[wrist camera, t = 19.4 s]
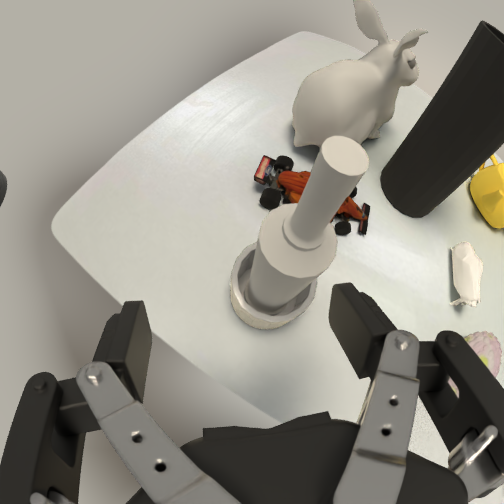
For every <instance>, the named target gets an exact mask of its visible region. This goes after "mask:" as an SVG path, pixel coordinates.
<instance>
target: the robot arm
mask: <svg viewBox="0 0 504 504" xmlns="http://www.w3.org/2000/svg"><path fill="white" fill-rule="evenodd" d="M329 323H330V326H331V328H332V330H333V332H334V334H335V336H336V337H337V339H338V341H339V343H340V345H341V346H342V348H343V350H344V352H345V354H346V356H347V357H348V359H349V361H350V363H351V365H352V367H353V368H354V370H355V372H356V374H357V376H358V378H359V379H362V378H366V377H370V379H371V382H370V385H369V388H368V391H367V394H366V397H365V400H364V403H363V406H362V409H361V412H360V414H359V417H358V420H357V422H356V423H353V422H350V421H345V420H338V419H331V418H330V415H329V413H328V411H326V412H322V413H317V414H312V415H307V416H302V417H298V418H295V419H293V420H290V421H288V422H286V423H283V424H280V425H278V426H275V427H273V428H269V429H260V428H249V427H238V426H230V427H217V428H203V437H201V438H198V439H195V440H193V441H190V442H188V443H186V444H184V445H183V446H181V447H180V448H179V447H178V446H177V445H176V444H175V443H174V442H173V441H172V440H171V439H170V437H169V436H168V435H167V434H166V433H165V432H164V431H163V430H162V428H161V427H160V426H159V425H158V424H157V423H156V421H155V420H154V419H153V418H152V417H151V415H150V414H149V413H148V412H147V411H146V410H145V408H144V407H143V406H142V404H141V403H143V397H144V389H145V382H146V376H147V369H148V363H149V357H150V351H151V346H152V334H151V328H150V325H149V321H148V317H147V313H146V309H145V305H144V302H143V301H126V302H125V303H124V305H123V308H122V311H121V313H120V314H114V315H113V316H112V317H111V318H110V319H109V320H108V321H107V323H106V325H105V328H104V332H103V333H102V336H101V339H100V341H99V344H98V347H97V349H96V352H95V355H94V358H93V361H92V362H91V363H88V364H86V365H84V366H83V367H82V368H81V369H80V370H79V371H78V373H77V376H76V377H75V378H72V379H67V380H62V381H57V380H56V378H55V377H54V375H52V374H51V373H48V372H41V373H38V374H36V375H34V376H32V377H31V378H30V379H29V380H28V382H27V384H26V386H25V388H24V391H23V394H22V396H21V399H20V402H19V405H18V407H17V410H16V413H15V416H14V419H13V422H12V425H11V428H10V431H9V435H8V438H7V442H6V445H5V449H4V453H3V456H2V460H1V464H0V504H78V496H79V484H80V473H81V465H82V455H83V449H84V442H85V435H86V432H91V431H96V430H101V429H102V430H103V432H104V434H105V435H106V437H107V439H108V440H109V442H110V443H111V445H112V446H113V448H114V449H115V451H116V452H117V454H118V455H119V456H120V458H121V460H122V461H123V462H124V464H125V465H126V467H127V468H128V469H129V471H130V472H131V474H132V475H133V476H134V477H135V479H136V480H137V481H138V483H139V484H140V485H141V488H140V489H139V490H138V491H137V493H136V494H135V495H134V496H133V497H132V498H131V499H130V500H129V501H128V502H127V503H126V504H468V502H470V501H471V500H473V499H475V498H482V497H485V496H486V495H488V494H489V493H491V492H492V491H493V490H495V489H496V488H498V487H499V486H500V485H502V484H503V483H504V389H503V387H502V386H501V385H500V383H499V382H498V381H497V379H496V378H495V377H494V376H493V374H492V373H491V372H490V370H489V369H488V368H487V366H486V365H485V364H484V363H483V361H482V360H481V359H480V358H479V356H478V355H477V354H476V353H475V351H474V350H473V349H472V348H471V347H470V345H469V344H468V343H467V342H466V341H465V339H464V338H463V337H462V336H461V335H459V334H458V333H456V332H453V331H441V332H440V333H438V335H437V337H436V339H435V341H419V340H418V339H417V337H416V336H415V335H413V334H412V333H410V332H408V331H404V330H397V328H396V327H395V326H394V324H393V323H392V322H391V321H390V319H389V318H388V317H387V316H386V315H385V313H384V312H382V310H381V308H380V307H379V306H377V304H376V302H375V301H374V300H373V299H372V298H371V297H370V296H368V295H366V294H365V293H363V292H359V291H358V290H357V289H356V288H355V286H354V285H353V284H352V283H342V284H335V285H334V286H333V288H332V294H331V302H330V308H329ZM450 378H451V379H452V380H453V382H454V383H455V385H456V386H457V388H458V391H459V398H458V397H457V395H456V394H455V392H454V390H453V389H452V387H451V386H450V384H449V383H448V381H449V379H450ZM418 395H419V397H420V399H421V401H422V402H423V404H424V406H425V408H426V410H427V411H428V413H429V415H430V417H431V419H432V421H433V422H434V424H435V426H436V428H437V430H438V432H439V434H440V436H441V437H442V439H443V441H444V443H445V445H446V447H447V449H448V451H449V453H450V454H449V457H448V465H449V467H448V468H445V467H443V466H440V465H438V464H436V463H434V462H432V461H429V460H427V459H425V458H423V457H421V456H419V455H417V454H415V453H413V452H411V451H409V450H408V446H409V441H410V437H411V432H412V427H413V422H414V416H415V411H416V405H417V398H418Z"/></svg>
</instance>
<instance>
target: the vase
mask: <svg viewBox="0 0 504 504" xmlns="http://www.w3.org/2000/svg"><path fill="white" fill-rule="evenodd" d="M503 143H504V34H503V33H501V32H500V31H499V30H497V29H496V28H495V27H493V26H492V25H490V24H489V23H487V22H485V21H481V22H480V23H479V25H478V27H477V28H476V30H475V32H474V34H473V35H472V37H471V39H470V40H469V42H468V44H467V45H466V47H465V49H464V50H463V52H462V54H461V55H460V57H459V59H458V60H457V62H456V63H455V65H454V67H453V68H452V70H451V71H450V73H449V74H448V76H447V77H446V79H445V81H444V82H443V84H442V85H441V87H440V88H439V90H438V91H437V93H436V94H435V96H434V97H433V99H432V100H431V102H430V103H429V105H428V106H427V108H426V109H425V111H424V112H423V114H422V115H421V117H420V118H419V120H418V121H417V122H416V124H415V125H414V127H413V128H412V130H411V131H410V133H409V134H408V135H407V137H406V138H405V140H404V141H403V142H402V144H401V145H400V147H399V148H398V149H397V151H396V152H395V154H394V155H393V156H392V158H391V159H390V161H389V162H388V163H387V165H386V166H385V167H384V169H383V170H382V174H381V185H382V189H383V191H384V193H385V195H386V197H387V198H388V200H389V201H390V202H391V203H392V205H393V206H394V207H395V208H397V209H398V210H399V211H401V212H402V213H403V214H406V215H408V216H411V217H423V216H425V215H427V214H428V213H430V212H431V211H432V210H433V209H434V208H435V207H437V206H438V205H439V204H440V203H441V202H442V201H443V200H445V199H446V198H447V197H448V196H449V195H450V194H451V193H452V192H453V191H455V190H456V189H457V188H458V187H459V186H460V185H461V184H462V183H463V182H464V181H465V180H467V179H468V178H469V177H470V176H471V175H472V174H473V173H474V172H475V171H476V170H477V169H478V168H479V167H480V166H481V165H482V164H483V163H484V162H485V161H486V160H487V159H489V158H490V157H491V156H492V155H493V154H494V153H495V151H497V150H498V149H499V147H501V145H502V144H503Z"/></svg>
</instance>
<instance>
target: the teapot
mask: <svg viewBox="0 0 504 504" xmlns="http://www.w3.org/2000/svg"><path fill="white" fill-rule="evenodd" d="M490 159H491V160H492V162H493V164H494V165H491V166H488V167H486V168H484V165H485V162H484V163H483V164H482V165H481V166H480V167H479V172H478V173H477V174H475V176H474V177H473V178H472V180H471V184H470V192H471V195H472V197H473V200H474V202H475V204H476V206H477V207H478V209H479V211H480V212H481V214H482V215H483V217H484V218H485V219H486V221H487V222H488V223H489V224H490V225H491V226H492V227H494V228H504V163H499V164H498V162H497V160H496V158H495V156H494V155H492V156H491V157H490Z"/></svg>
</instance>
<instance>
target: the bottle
mask: <svg viewBox="0 0 504 504" xmlns="http://www.w3.org/2000/svg"><path fill="white" fill-rule="evenodd" d="M368 167H369V158H368V156H367V153H366V151H365V150H364V149H363V148H362V147H361V145H360V144H358V143H357V142H355V141H354V140H352V139H350V138H347V137H344V136H332V137H330V138H327V139H326V140H325V141H324V143H323V144H322V146H321V148H320V151H319V153H318V156H317V158H316V160H315V163H314V165H313V167H312V170H311V174H310V177H309V180H308V182H307V184H306V187H305V189H304V191H303V193H302V196H301V198H300V200H299V202H298V203H294V204H283V205H281V206H279V207H277V208H275V209H273V210H271V211H270V213H269V214H268V215H267V216H266V218H265V219H264V220H263V221H262V224H261V228H260V232H259V236H258V241H257V246H256V250H255V255H254V260H253V265H252V270H251V275H250V278H249V279H248V281H247V283H246V286H245V290H244V294H245V300H246V302H247V303H248V304H249V305H250V306H251V307H253V308H254V309H255V310H256V311H258V312H260V313H264V314H267V315H276V314H277V313H279V312H281V311H282V310H284V309H285V307H286V306H287V305H288V303H289V302H290V300H292V299H293V298H294V297H295V296H296V295H297V294H299V293H300V292H301V291H302V290H303V289H304V288H306V287H307V286H308V285H309V284H310V283H311V282H313V281H314V280H315V279H316V278H317V277H318V276H319V275H321V274H322V273H323V272H324V271H325V270H326V269H327V268H328V267H329V266H330V264H331V262H332V261H333V259H334V258H335V256H336V250H337V242H338V241H337V238H336V234H335V230H334V227H333V226H332V225H331V223H330V221H331V219H332V218H333V216H334V215H335V214H336V212H337V211H338V209H339V208H340V206H341V205H342V203H343V202H344V200H345V199H346V197H348V196H349V195H350V194H351V192H352V191H353V189H354V188H355V186H356V185H357V183H358V182H359V180H360V179H361V177H362V176H363V175H364V173H365V172H366V170H367V168H368Z"/></svg>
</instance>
